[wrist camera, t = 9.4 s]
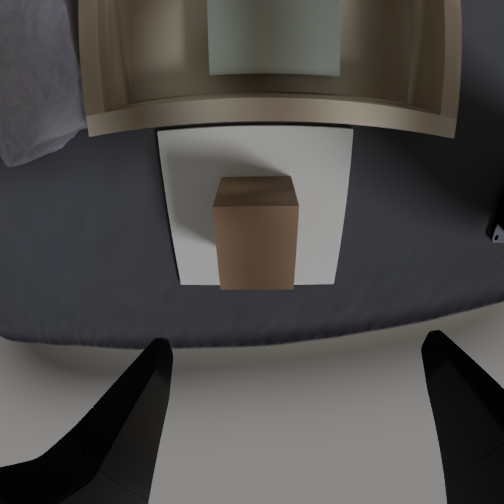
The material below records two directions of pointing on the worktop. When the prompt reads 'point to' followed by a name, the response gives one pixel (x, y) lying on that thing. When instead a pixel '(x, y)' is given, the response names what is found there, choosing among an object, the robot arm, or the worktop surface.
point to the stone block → (39, 78)
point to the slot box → (271, 62)
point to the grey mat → (256, 164)
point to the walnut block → (256, 232)
